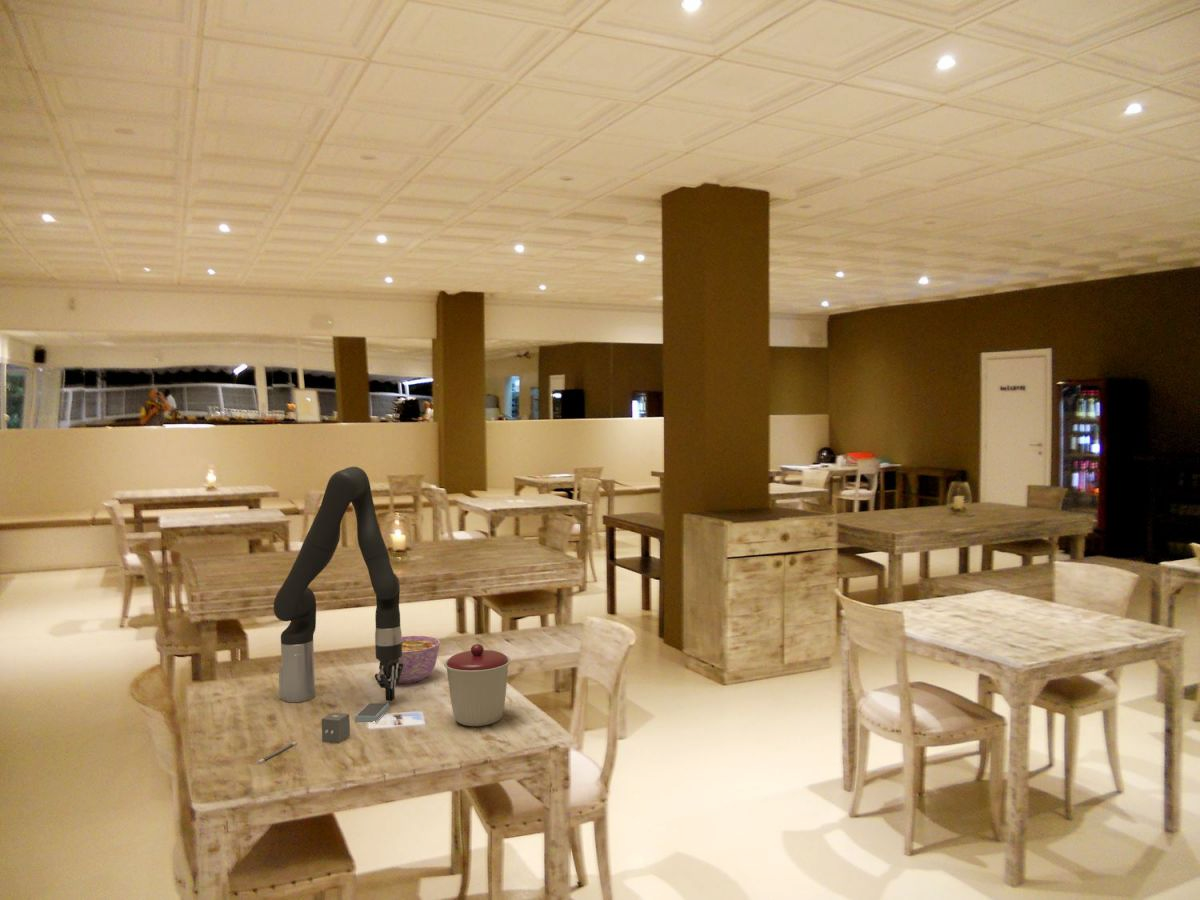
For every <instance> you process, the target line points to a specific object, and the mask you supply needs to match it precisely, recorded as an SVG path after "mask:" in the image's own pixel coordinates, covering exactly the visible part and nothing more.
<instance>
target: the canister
mask: <svg viewBox="0 0 1200 900" xmlns="http://www.w3.org/2000/svg"><path fill="white" fill-rule="evenodd" d="M511 661H512V660H511V658H510V657H509V656H508V655H506V654H504V653H503V652H500V651H496V650H491V649H484V645H482V644H478V643H475V644H473V645H472V646H471V647H470V650H468V651H462V652H458V653H456V654H454V655H452V656H451V657H449V658H447V659H446V660H445V661H444V662H443V666H444V667H445V669H446V672H447V681H448V688H449V695H450V702H451V709H452V715H453V717H454V719H455V720H456V722H458V724H461V725H462V726H463V725H464V726H467V727H485V726H489V725H492V724H495V723H497V722H499V720H500V719H501V718H502V716H503V715H504V711H505V705H506V703H505V702H506V698H507V697H506V696H507V685H508V674H509V673H508V672H509V669H508V668H509V665H510V663H511Z"/></svg>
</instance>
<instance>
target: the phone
mask: <svg viewBox="0 0 1200 900" xmlns="http://www.w3.org/2000/svg"><path fill="white" fill-rule="evenodd" d="M389 710H390V703H389V702H368V703H367V704H366V705H365V706H364V707H362V709H360V710H359V712H358V713H356V714H355V715H354V723H356V722H373V721H375V722H376V721H377V720H378V719H379V718H380V717H381V716H382V715H383V714H384V715H385V714H387V712H388V711H389ZM384 715H383V716H384ZM383 716H382V717H383ZM382 717H381V718H382ZM381 718H380V719H381ZM380 719H379V720H380ZM379 720H378V721H379ZM378 721H377V722H378ZM377 722H376V723H377Z"/></svg>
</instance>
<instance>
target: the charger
mask: <svg viewBox="0 0 1200 900" xmlns="http://www.w3.org/2000/svg"><path fill="white" fill-rule="evenodd" d="M350 728H351V726H350V713H343V712H342V713H341V712H331V713H329V714H328V715H326V716H324V717H322V718H321V740H322V743H333V744H341V743H342V742H344V741H345V740H347V739H348V738H349V736H350V737H351V729H350ZM346 738H347V739H346ZM343 740H344V741H343ZM340 742H341V743H340Z"/></svg>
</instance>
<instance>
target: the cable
mask: <svg viewBox="0 0 1200 900" xmlns="http://www.w3.org/2000/svg"><path fill="white" fill-rule="evenodd" d="M296 745H297V741H293V742H292V743H289V744H287V745H286V746H283V747H281V748H280V749H278V750H276V751H274V752H272V753H270V754H268V755H266V756H265V757H263V758H261V759H260V760H258V763H259V764H262V763H263V762H265V761H267V760H269V759H271V758H273V757H275V756H276V755H278V754H280V753H282V752H283V751H286V750H288V749H290V748H292V747H294V746H296Z"/></svg>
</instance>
